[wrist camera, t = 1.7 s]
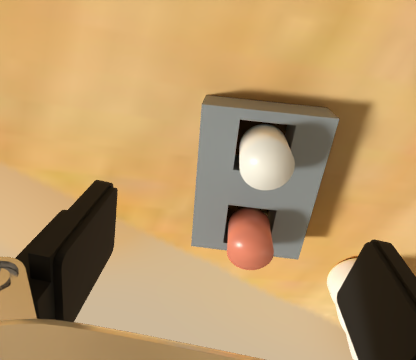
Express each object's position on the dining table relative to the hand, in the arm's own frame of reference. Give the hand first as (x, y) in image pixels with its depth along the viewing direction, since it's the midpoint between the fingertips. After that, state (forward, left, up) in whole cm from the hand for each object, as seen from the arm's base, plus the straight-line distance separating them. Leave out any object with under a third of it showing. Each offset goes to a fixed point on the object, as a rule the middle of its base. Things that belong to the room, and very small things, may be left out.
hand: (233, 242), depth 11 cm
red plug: (-3, +12, -18) cm, 22 cm away
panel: (-3, +7, -22) cm, 23 cm away
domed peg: (-3, +3, -18) cm, 18 cm away
